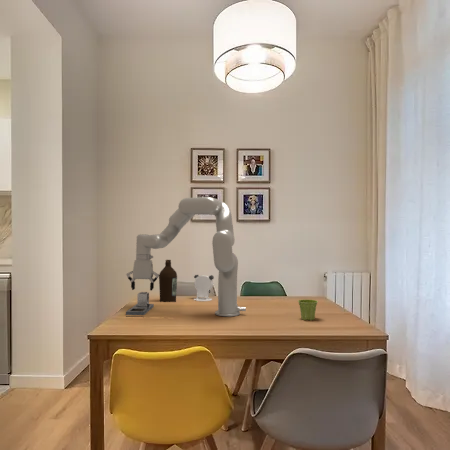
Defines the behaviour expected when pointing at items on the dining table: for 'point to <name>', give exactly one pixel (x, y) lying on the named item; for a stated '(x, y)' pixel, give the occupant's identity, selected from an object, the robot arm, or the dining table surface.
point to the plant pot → (307, 309)
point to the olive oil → (168, 283)
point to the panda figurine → (203, 287)
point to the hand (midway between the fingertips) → (142, 289)
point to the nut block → (143, 299)
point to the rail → (139, 310)
